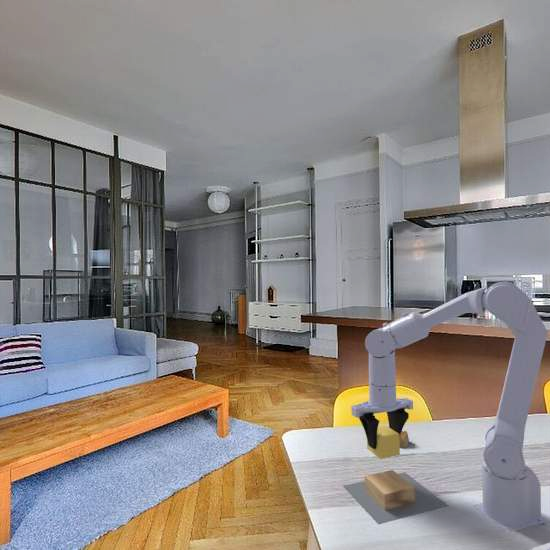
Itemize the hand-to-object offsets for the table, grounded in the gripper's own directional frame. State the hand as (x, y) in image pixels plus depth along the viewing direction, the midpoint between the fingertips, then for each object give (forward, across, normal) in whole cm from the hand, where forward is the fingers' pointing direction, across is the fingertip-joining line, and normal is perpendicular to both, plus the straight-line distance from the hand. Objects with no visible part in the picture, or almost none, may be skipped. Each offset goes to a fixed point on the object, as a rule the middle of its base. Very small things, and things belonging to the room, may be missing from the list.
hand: (383, 444), depth 81 cm
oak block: (+8, +2, +5) cm, 10 cm away
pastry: (+9, -14, -16) cm, 23 cm away
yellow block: (+2, 0, 0) cm, 2 cm away
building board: (+8, +2, +5) cm, 10 cm away
